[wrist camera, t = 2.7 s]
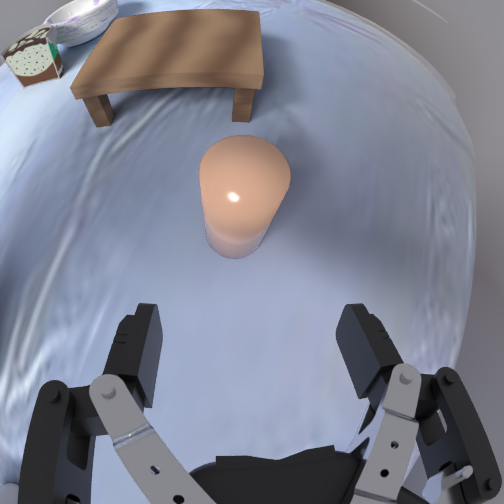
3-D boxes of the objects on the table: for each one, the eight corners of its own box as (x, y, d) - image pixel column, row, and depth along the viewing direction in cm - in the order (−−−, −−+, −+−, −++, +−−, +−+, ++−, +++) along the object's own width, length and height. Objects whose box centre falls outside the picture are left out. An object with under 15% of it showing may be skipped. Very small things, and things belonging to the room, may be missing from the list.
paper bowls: (133, 12, 36) (129, -16, 28) (98, 50, 32) (88, 16, 24) (77, 22, 35) (70, -2, 27) (39, 61, 31) (27, 35, 23)
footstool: (92, 130, 27) (69, 87, 20) (124, 57, 31) (115, 18, 24) (253, 125, 30) (263, 75, 22) (252, 52, 34) (259, 11, 26)
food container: (82, 55, 31) (68, 14, 22) (66, 77, 30) (47, 34, 20) (34, 68, 30) (17, 34, 20) (18, 89, 29) (-2, 55, 19)
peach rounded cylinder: (205, 258, 25) (195, 211, 15) (207, 204, 27) (202, 133, 16) (263, 259, 26) (293, 214, 15) (262, 205, 27) (287, 138, 17)
